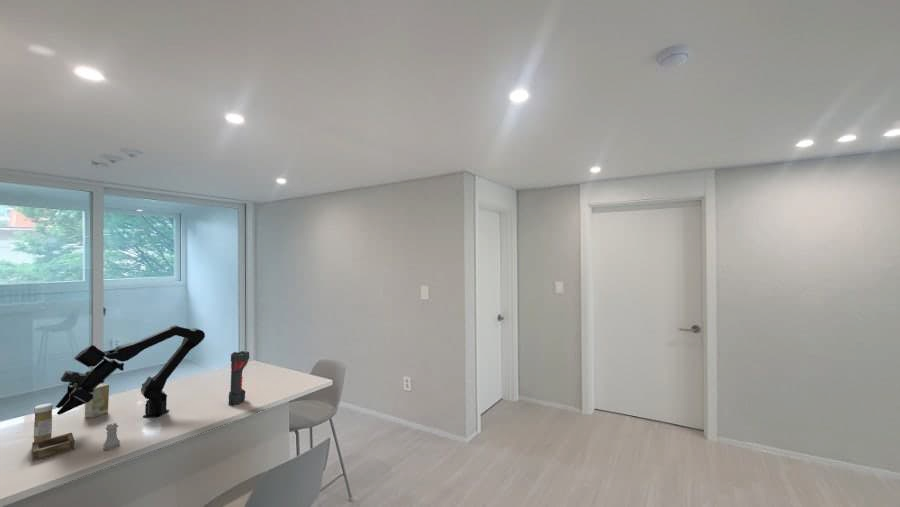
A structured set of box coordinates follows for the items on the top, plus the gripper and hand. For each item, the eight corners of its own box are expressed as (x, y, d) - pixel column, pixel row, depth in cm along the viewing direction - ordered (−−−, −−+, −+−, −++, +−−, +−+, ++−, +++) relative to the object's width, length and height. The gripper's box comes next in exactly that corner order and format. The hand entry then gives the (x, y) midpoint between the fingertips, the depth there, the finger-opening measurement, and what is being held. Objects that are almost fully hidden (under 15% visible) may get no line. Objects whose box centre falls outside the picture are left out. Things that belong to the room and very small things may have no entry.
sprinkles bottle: (34, 442, 132) (35, 405, 133) (52, 438, 136) (53, 401, 136) (32, 447, 129) (33, 408, 129) (51, 442, 132) (52, 405, 133)
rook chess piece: (110, 444, 131) (110, 422, 131) (123, 444, 131) (123, 421, 132) (99, 451, 127) (99, 427, 127) (113, 450, 127) (113, 427, 127)
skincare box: (92, 418, 153) (92, 388, 153) (84, 417, 154) (84, 388, 154) (109, 412, 159) (109, 383, 159) (101, 411, 160) (101, 383, 160)
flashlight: (250, 397, 175) (250, 349, 176) (246, 403, 168) (247, 353, 168) (231, 399, 173) (232, 351, 173) (227, 406, 166) (228, 355, 166)
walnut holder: (71, 441, 133) (71, 432, 133) (74, 450, 127) (74, 440, 127) (32, 451, 126) (32, 442, 126) (33, 461, 120) (33, 451, 120)
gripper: (77, 357, 146) (34, 393, 137) (81, 366, 133) (34, 406, 125) (103, 373, 151) (64, 408, 143) (110, 383, 139) (67, 422, 131)
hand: (57, 410), depth 135 cm, fingers open, 9 cm apart
